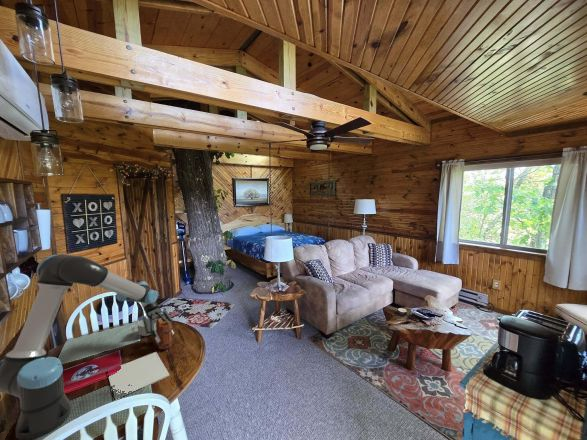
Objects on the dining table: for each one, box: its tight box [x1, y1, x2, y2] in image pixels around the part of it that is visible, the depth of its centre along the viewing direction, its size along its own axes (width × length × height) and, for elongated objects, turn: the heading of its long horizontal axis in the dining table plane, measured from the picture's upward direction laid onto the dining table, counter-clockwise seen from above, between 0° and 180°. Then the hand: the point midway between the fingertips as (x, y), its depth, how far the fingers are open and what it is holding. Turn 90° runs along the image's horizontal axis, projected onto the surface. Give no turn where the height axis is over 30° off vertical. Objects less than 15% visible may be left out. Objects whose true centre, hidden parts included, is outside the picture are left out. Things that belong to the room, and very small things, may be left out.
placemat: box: [108, 351, 171, 402], centre depth 120 cm, size 22×24×1 cm
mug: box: [155, 318, 174, 350], centre depth 142 cm, size 15×8×15 cm, turn 49°
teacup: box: [131, 317, 158, 337], centre depth 153 cm, size 14×11×8 cm
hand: (166, 338), depth 141 cm, fingers closed on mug, 8 cm apart
